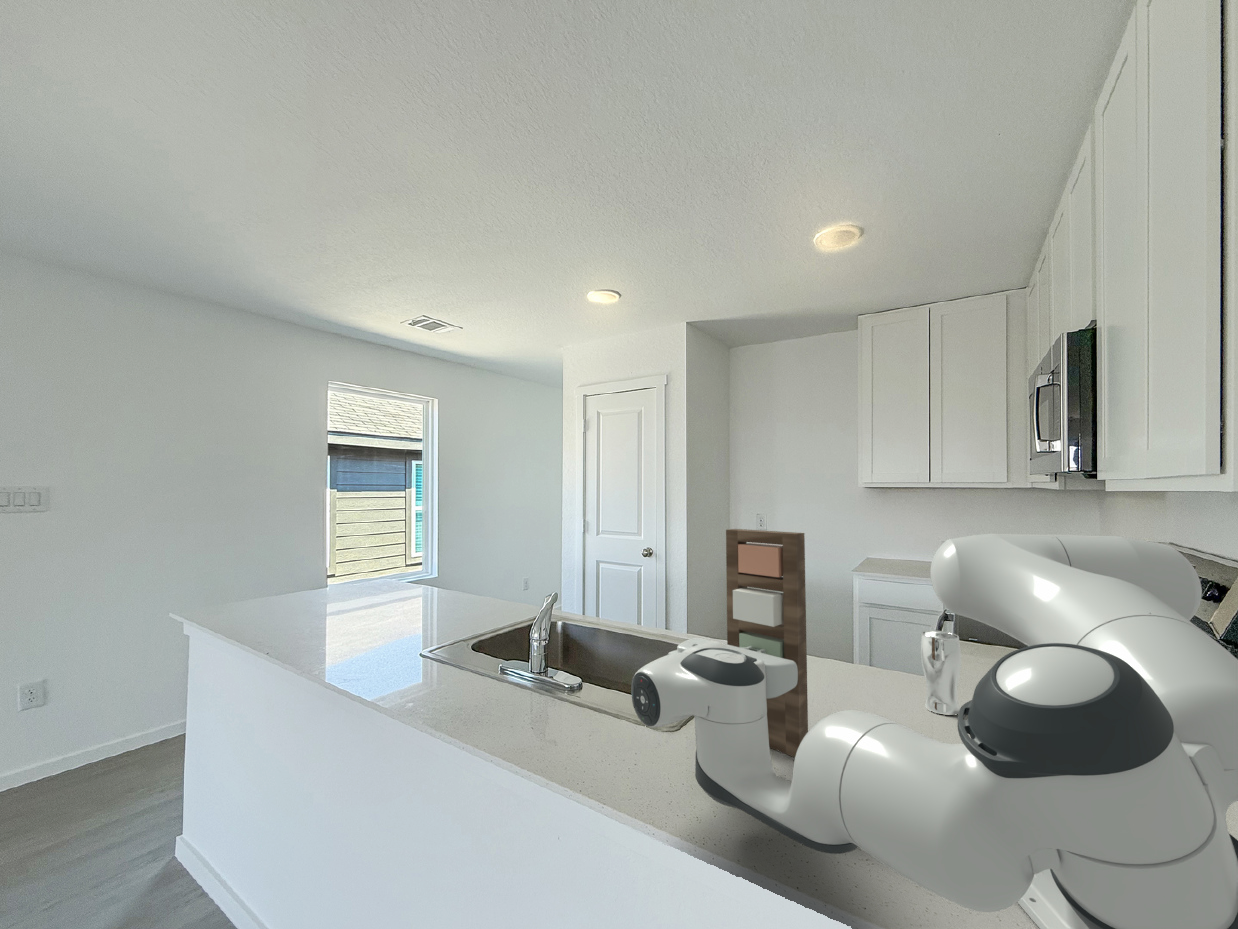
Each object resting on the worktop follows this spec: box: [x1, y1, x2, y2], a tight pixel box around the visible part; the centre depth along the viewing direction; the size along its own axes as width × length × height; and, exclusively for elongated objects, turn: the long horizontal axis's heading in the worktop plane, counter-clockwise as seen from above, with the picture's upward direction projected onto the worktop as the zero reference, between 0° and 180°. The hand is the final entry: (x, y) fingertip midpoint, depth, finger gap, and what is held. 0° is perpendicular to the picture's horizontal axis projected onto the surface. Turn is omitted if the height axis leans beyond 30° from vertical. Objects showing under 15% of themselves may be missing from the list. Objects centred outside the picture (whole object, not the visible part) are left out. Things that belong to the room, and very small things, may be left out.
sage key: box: [739, 631, 784, 658], centre depth 94 cm, size 4×8×5 cm, turn 44°
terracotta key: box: [738, 542, 783, 577], centre depth 95 cm, size 4×8×5 cm, turn 44°
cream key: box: [733, 587, 784, 627], centre depth 93 cm, size 4×8×5 cm, turn 44°
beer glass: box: [920, 629, 962, 715], centre depth 107 cm, size 7×7×15 cm
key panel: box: [725, 528, 809, 758], centre depth 94 cm, size 3×14×37 cm, turn 44°
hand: (758, 652), depth 93 cm, fingers closed, pressing on sage key
